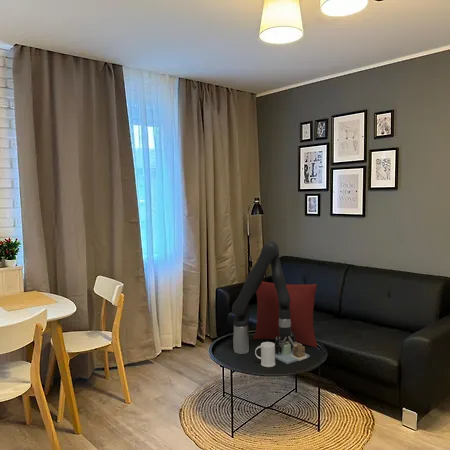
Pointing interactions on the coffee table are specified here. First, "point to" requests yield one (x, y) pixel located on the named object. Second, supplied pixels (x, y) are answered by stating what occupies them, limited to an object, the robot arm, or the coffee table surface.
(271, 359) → the mug
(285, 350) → the sage block
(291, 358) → the mat
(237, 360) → the coffee table surface
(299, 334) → the pillow
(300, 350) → the walnut block
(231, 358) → the coffee table surface
